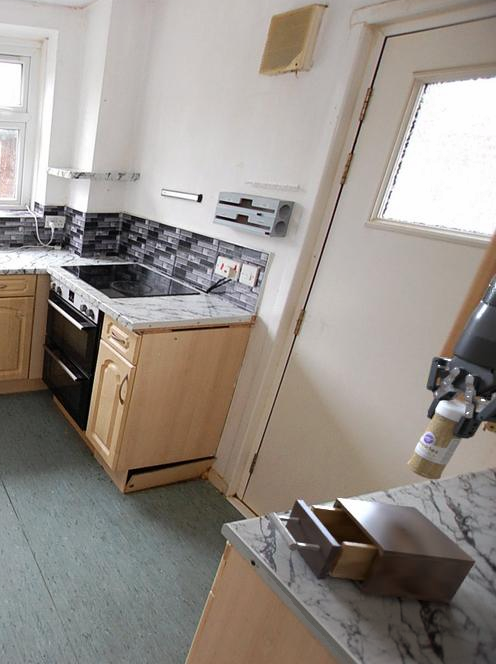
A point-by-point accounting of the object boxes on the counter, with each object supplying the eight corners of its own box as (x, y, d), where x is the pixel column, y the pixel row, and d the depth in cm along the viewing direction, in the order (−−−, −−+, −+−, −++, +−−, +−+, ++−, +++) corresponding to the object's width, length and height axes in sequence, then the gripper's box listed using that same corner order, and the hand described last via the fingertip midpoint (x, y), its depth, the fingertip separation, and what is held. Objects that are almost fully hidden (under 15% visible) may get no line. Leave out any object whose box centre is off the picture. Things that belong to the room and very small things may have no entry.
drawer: (286, 575, 75) (301, 541, 72) (255, 527, 84) (267, 495, 82) (396, 589, 74) (415, 555, 71) (352, 539, 84) (367, 507, 81)
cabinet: (362, 592, 74) (384, 550, 71) (319, 536, 85) (336, 497, 82) (449, 603, 73) (475, 561, 70) (394, 546, 84) (415, 507, 81)
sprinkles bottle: (399, 464, 82) (433, 399, 77) (418, 463, 83) (452, 398, 78) (427, 482, 78) (465, 414, 73) (447, 480, 79) (485, 413, 74)
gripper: (434, 316, 78) (392, 403, 84) (518, 350, 64) (460, 450, 70) (481, 321, 77) (435, 408, 83) (574, 357, 64) (512, 457, 70)
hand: (447, 427), depth 77 cm, fingers closed on sprinkles bottle, 4 cm apart
